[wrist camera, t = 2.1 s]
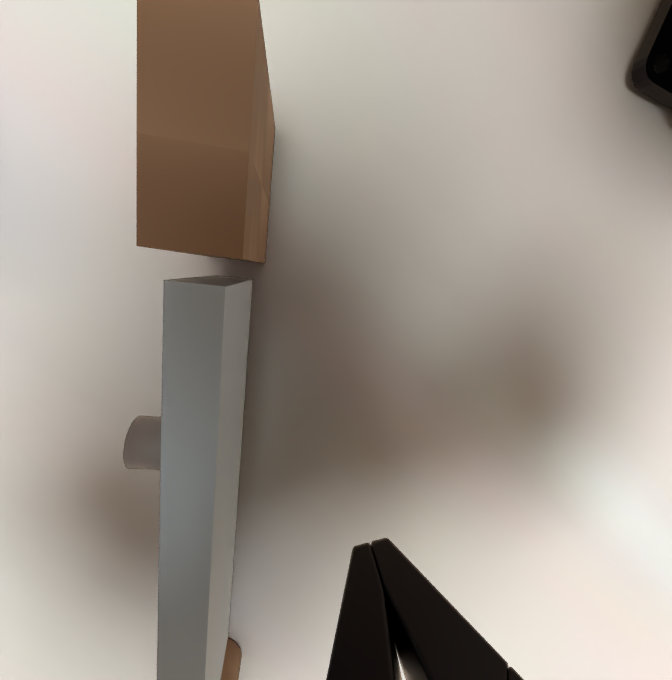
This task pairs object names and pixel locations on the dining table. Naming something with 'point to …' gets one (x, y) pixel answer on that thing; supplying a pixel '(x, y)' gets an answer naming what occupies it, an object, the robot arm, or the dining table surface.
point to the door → (197, 468)
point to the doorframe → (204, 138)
